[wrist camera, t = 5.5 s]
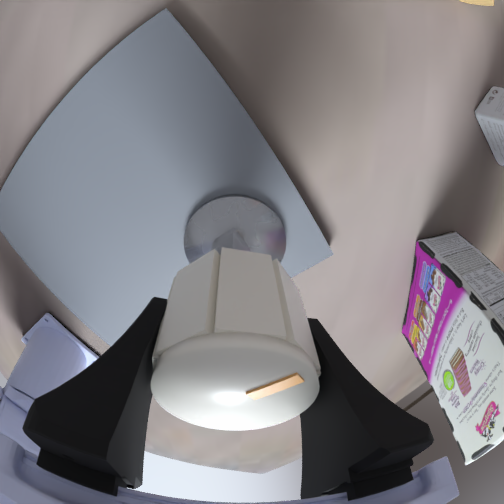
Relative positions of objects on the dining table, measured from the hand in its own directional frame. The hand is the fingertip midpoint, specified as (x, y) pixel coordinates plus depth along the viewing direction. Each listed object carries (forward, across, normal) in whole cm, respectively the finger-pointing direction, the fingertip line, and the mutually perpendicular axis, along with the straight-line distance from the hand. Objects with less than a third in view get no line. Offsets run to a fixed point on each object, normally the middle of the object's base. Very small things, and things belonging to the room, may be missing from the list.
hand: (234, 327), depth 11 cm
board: (+8, +7, 0) cm, 11 cm away
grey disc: (+8, 0, 0) cm, 8 cm away
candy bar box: (+9, -18, +1) cm, 20 cm away
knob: (+1, 0, 0) cm, 1 cm away
